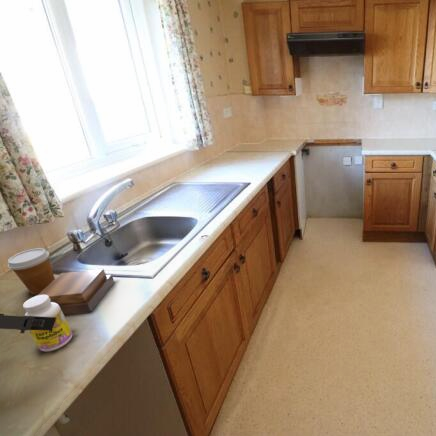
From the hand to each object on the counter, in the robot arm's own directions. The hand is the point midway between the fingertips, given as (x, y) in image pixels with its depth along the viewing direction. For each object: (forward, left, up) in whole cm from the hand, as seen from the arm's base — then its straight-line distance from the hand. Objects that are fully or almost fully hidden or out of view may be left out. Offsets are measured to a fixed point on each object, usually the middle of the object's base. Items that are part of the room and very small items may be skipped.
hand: (26, 321), depth 72 cm
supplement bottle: (0, +4, -10) cm, 11 cm away
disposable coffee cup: (-25, +23, -10) cm, 36 cm away
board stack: (-9, +19, -10) cm, 24 cm away
